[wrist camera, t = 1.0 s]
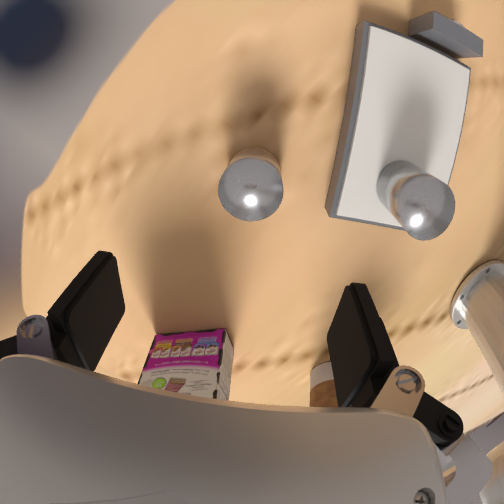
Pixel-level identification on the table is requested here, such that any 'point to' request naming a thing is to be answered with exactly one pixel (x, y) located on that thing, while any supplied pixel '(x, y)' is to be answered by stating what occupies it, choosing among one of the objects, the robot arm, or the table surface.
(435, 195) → the cylinder
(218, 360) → the candy bar box
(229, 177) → the cylinder
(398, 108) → the scale
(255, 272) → the table surface
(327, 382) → the coffee cup
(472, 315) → the robot arm
